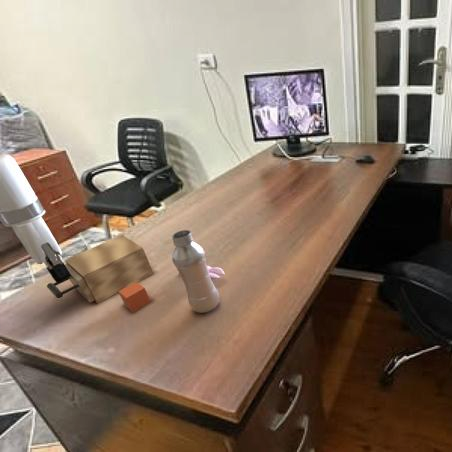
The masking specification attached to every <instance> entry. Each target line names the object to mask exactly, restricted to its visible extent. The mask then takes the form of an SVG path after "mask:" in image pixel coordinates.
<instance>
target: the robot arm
mask: <svg viewBox="0 0 452 452" xmlns="http://www.w3.org/2000/svg"><path fill="white" fill-rule="evenodd" d="M45 214H46V210H45V208H44V207H43V205H42V203H41V202H40V200H39V198H38V196H37V195H36V193H35V191H34V190H33V188H32V186H31V184H30V183H29V181H28V179H27V178H26V175H24V172H23V171H22V169H21V167H20V166H19V164H18V162H17V161H16V159H15V158H14V157H13V156H12V155H9V154H1V153H0V222H1V224H3V226H4V227H8V228H9V227H11V228H12V230H13V231H14V233H15V235H16V237H17V238H18V239H19V241H20V243H21V244H22V245H23V248H24V249H25V250H26V252H27V254H28V256H30V257H31V259H32V260H33V261H34V262H35V263H36V264H38V265H43V264H44V265H45V266H46V270H47V271H48V273H49V274H50V276H51V278H52V279H53V281H55V283H56V282H60V281H62V280H64V279H66V278H68V277H70V276H71V274H70V273H69V271H68V269H67V268H66V266H65V264H66V263H64V262H63V261H62V259H61V257H60V256H62V254H63V252H62V249H61V247H60V246H59V244H58V242H57V240H56V238H55V237H54V235H53V233H52V232H51V230H50V228H49V227H48V225H47V223H46V222H45V219H43V216H44V215H45Z"/></svg>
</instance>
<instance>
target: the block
mask: <svg viewBox="0 0 452 452" xmlns="http://www.w3.org/2000/svg"><path fill="white" fill-rule="evenodd" d="M118 294H119V296H120V299H121V301H122V302H123V304H124V306H125V307H126V308H127V309H129V310H130V311H131V312H132V313H134V312H136V311H138V310H139V309H141V308H143V307H145V306H146V305H147V304H149V303H151V299H150V296H149V295H148V291H147V290H146V288H145V287H144V286H143V285H141V283H138V282H135V283H133V284H131V285H129V286H127V287H126V288H124V289H122V290H120V291H118Z"/></svg>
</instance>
